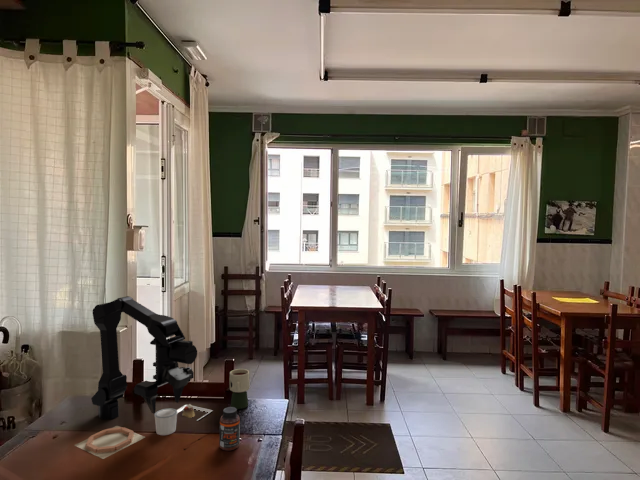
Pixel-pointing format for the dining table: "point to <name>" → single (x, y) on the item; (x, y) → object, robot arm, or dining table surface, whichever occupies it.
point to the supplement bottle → (229, 429)
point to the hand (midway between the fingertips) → (165, 407)
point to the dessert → (192, 411)
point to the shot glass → (165, 421)
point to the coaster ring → (109, 448)
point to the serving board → (109, 442)
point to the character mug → (239, 388)
